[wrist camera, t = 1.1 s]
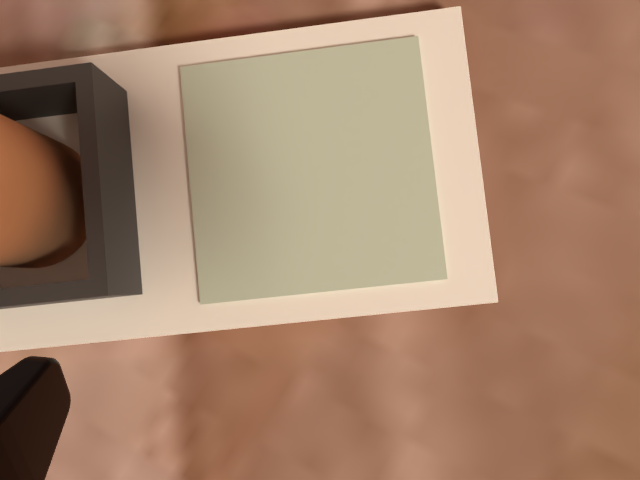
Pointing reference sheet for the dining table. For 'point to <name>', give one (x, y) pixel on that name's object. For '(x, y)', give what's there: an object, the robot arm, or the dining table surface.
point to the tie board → (258, 182)
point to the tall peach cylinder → (38, 198)
